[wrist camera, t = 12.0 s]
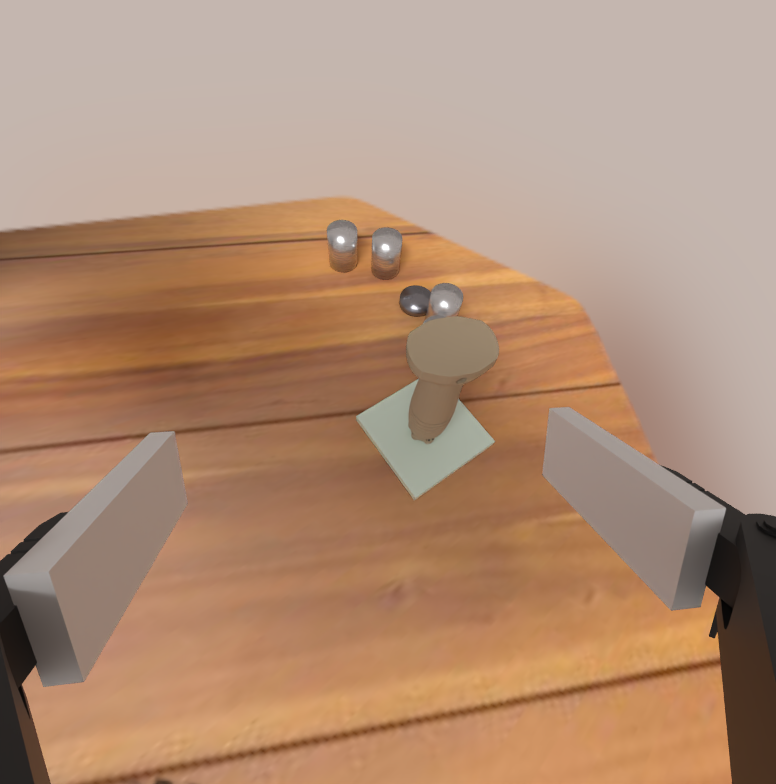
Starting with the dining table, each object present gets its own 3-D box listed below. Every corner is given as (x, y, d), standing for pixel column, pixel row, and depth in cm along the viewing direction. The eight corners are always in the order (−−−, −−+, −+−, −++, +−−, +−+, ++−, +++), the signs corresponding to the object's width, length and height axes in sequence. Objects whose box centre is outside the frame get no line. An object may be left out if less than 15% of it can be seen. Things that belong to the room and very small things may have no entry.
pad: (356, 420, 44) (356, 416, 43) (432, 374, 47) (433, 369, 46) (414, 500, 40) (415, 497, 39) (492, 445, 43) (495, 441, 43)
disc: (392, 303, 52) (393, 296, 51) (415, 287, 53) (416, 280, 52) (415, 323, 51) (416, 317, 49) (438, 306, 52) (440, 299, 51)
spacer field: (324, 258, 54) (321, 226, 50) (374, 236, 57) (376, 203, 52) (423, 377, 47) (430, 351, 42) (476, 345, 49) (488, 318, 45)
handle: (461, 445, 42) (508, 366, 29) (399, 459, 41) (417, 383, 28) (447, 403, 44) (484, 311, 31) (387, 414, 43) (399, 324, 30)
